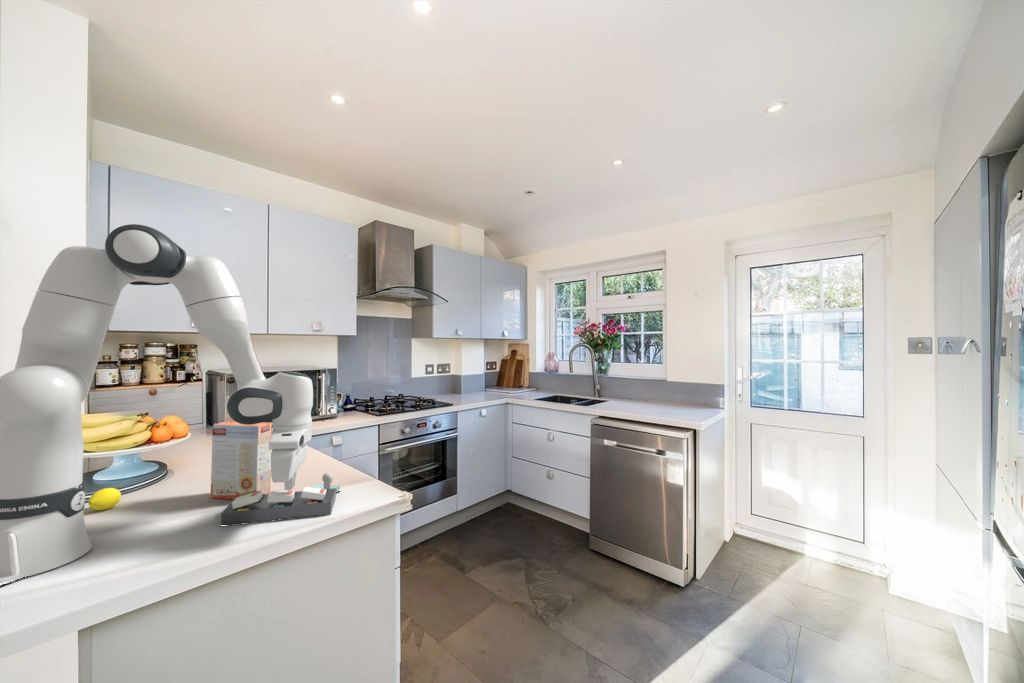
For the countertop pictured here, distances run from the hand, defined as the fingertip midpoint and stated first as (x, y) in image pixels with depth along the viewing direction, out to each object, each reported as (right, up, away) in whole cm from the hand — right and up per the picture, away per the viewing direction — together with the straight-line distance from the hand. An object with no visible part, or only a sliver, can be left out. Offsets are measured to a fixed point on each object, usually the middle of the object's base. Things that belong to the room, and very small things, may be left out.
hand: (289, 488), depth 98 cm
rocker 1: (-9, -2, -3) cm, 10 cm away
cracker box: (-21, -7, +11) cm, 25 cm away
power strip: (-3, -7, +2) cm, 7 cm away
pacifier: (+3, -7, +15) cm, 17 cm away
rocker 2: (-2, -2, 0) cm, 3 cm away
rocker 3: (+5, -2, +2) cm, 6 cm away
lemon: (-49, -6, +1) cm, 49 cm away
